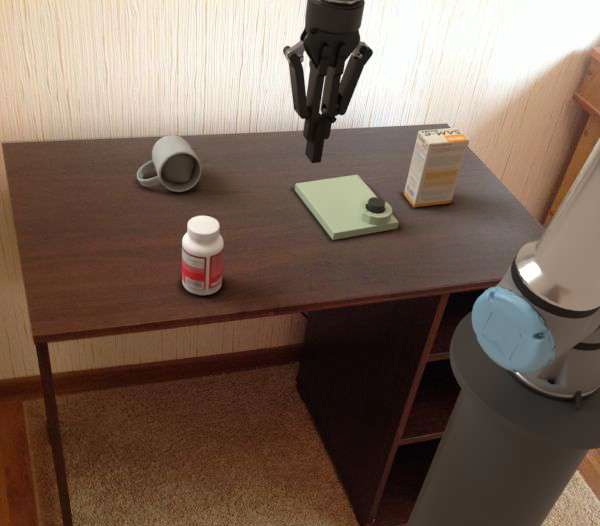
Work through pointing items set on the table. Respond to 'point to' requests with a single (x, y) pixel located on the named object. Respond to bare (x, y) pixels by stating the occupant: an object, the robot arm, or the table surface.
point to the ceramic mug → (172, 165)
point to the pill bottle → (202, 256)
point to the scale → (344, 206)
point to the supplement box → (435, 166)
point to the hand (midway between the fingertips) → (312, 158)
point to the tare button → (376, 205)
